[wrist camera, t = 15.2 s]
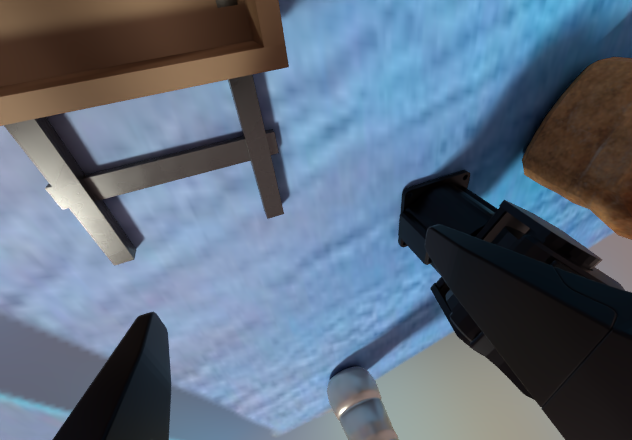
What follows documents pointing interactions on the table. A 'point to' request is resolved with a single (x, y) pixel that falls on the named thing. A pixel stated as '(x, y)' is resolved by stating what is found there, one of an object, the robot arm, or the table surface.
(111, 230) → the rail track
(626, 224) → the bread
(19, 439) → the table surface
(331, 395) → the plastic bottle
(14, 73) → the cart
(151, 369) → the robot arm
